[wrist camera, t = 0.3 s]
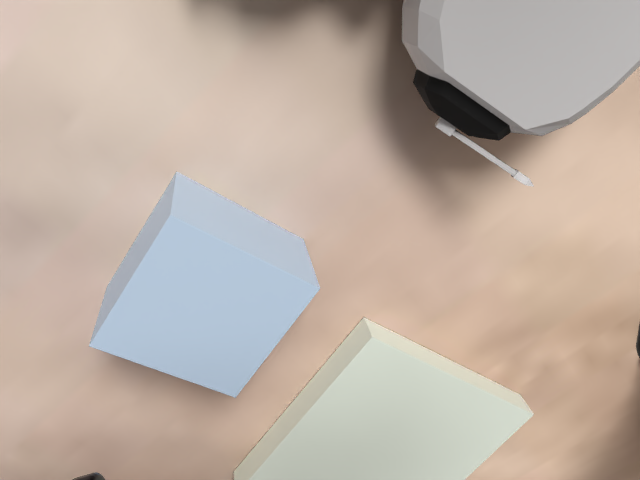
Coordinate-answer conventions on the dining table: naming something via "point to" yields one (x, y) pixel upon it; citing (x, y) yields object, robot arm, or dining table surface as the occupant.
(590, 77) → the robot toy
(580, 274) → the dining table surface
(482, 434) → the pale green square slab
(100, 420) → the dining table surface
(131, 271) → the brick
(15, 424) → the dining table surface
